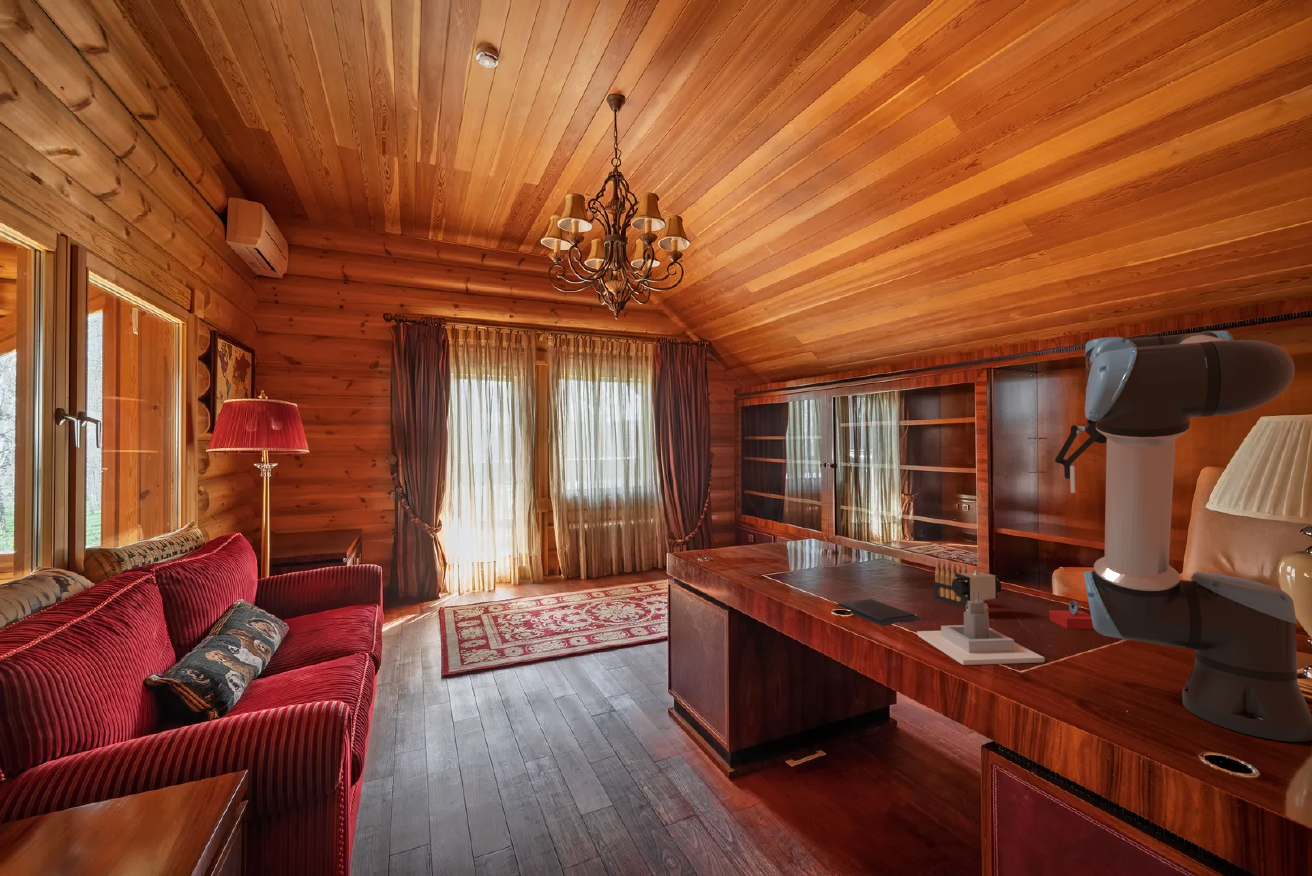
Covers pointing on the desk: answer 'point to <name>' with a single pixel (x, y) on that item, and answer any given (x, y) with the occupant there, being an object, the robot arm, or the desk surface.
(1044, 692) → the desk surface
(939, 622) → the desk surface
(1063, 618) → the red rectangular block
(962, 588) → the pneumatic valve
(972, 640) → the holder plate
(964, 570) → the ammunition clip
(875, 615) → the wallet
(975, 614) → the power adapter
